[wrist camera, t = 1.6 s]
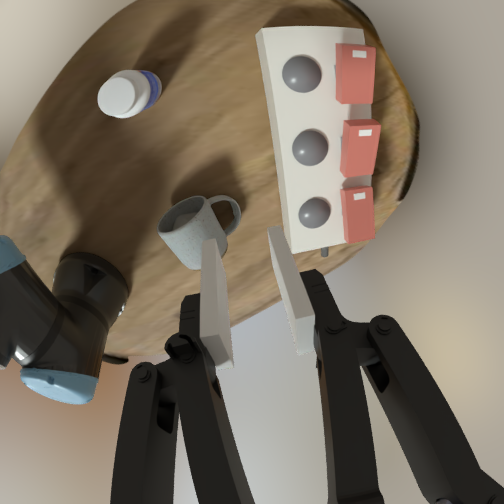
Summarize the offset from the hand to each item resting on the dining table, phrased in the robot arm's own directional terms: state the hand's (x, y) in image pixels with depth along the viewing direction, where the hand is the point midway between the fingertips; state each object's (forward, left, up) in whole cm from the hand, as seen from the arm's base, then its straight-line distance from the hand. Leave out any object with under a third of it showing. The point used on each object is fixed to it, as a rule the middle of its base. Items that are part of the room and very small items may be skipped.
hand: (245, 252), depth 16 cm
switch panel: (+12, -2, -23) cm, 26 cm away
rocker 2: (+15, 0, -15) cm, 21 cm away
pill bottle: (-9, +11, -23) cm, 27 cm away
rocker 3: (+15, -9, -15) cm, 23 cm away
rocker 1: (+15, +9, -15) cm, 23 cm away
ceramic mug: (-5, -9, -23) cm, 25 cm away
